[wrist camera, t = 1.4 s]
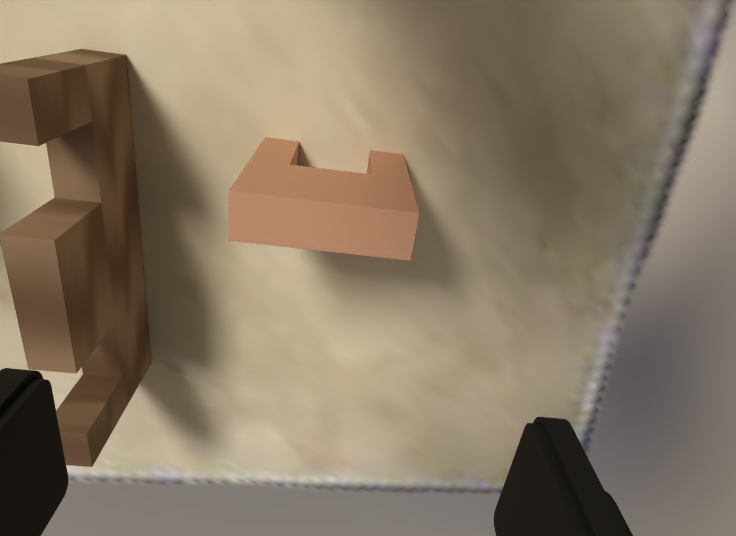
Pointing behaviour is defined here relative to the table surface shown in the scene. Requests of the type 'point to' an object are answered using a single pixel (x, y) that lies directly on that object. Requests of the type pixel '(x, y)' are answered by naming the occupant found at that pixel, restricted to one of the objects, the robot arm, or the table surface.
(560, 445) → the robot arm
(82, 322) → the walnut e-shaped block
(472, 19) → the table surface
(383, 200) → the slotted plate
